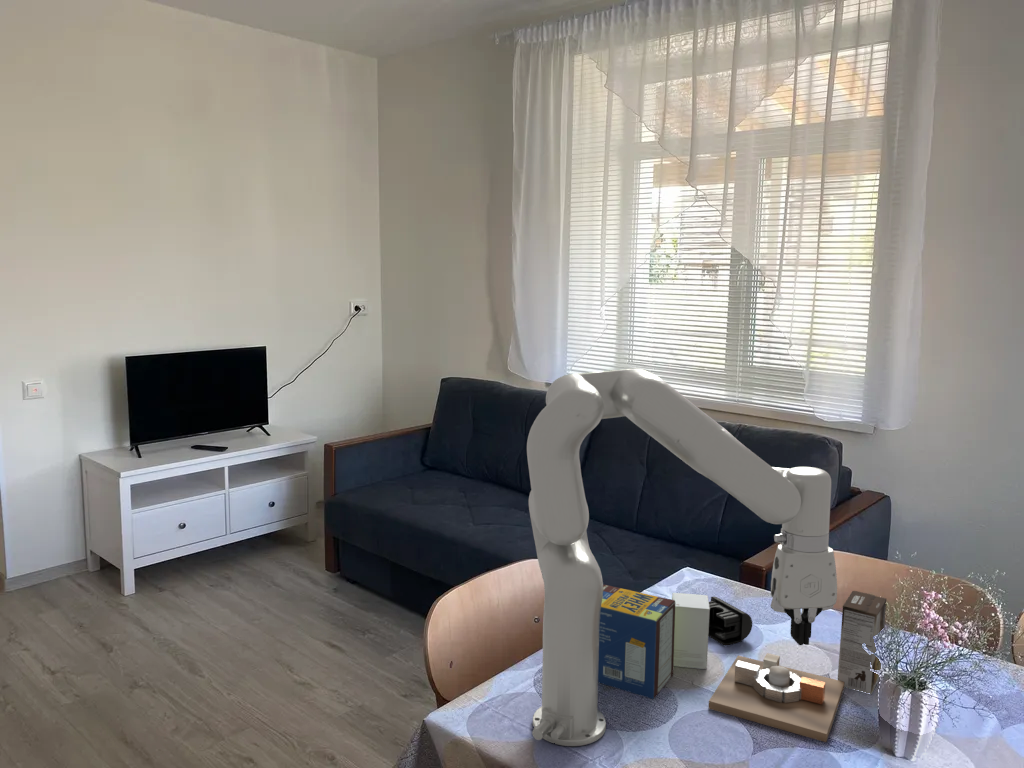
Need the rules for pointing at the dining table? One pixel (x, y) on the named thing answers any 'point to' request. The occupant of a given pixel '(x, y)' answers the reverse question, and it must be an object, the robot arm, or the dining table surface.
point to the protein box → (636, 641)
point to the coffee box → (860, 640)
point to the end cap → (727, 623)
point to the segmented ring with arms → (794, 692)
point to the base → (783, 716)
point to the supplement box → (691, 630)
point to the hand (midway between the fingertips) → (800, 641)
